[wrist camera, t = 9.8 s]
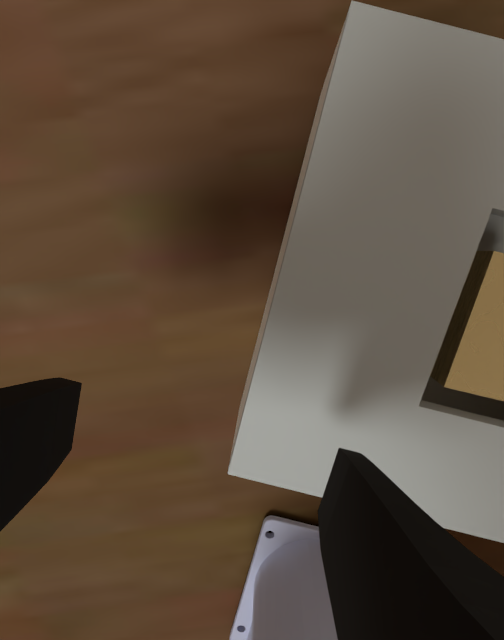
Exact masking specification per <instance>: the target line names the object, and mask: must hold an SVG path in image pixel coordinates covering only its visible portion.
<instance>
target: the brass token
mask: <svg viewBox="0 0 504 640" xmlns="http://www.w3.org/2000/svg"><path fill="white" fill-rule="evenodd" d="M430 377H432V378H433V379H434V380H435V381H437V382H438V383H439V384H441V385H442V386H443V387H446V388H450V389H454V390H458V391H463V392H467V393H471V394H475V395H479V396H484V397H488V398H492V399H496V400H500V401H504V253H501V252H497V251H476V254H475V256H474V259H473V262H472V264H471V267H470V270H469V273H468V275H467V278H466V281H465V283H464V286H463V289H462V291H461V294H460V297H459V299H458V302H457V305H456V307H455V310H454V313H453V315H452V318H451V321H450V323H449V326H448V329H447V331H446V334H445V337H444V340H443V342H442V345H441V348H440V350H439V353H438V356H437V358H436V361H435V364H434V366H433V369H432V372H431V374H430Z"/></svg>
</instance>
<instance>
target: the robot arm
mask: <svg viewBox="0 0 504 640" xmlns="http://www.w3.org/2000/svg"><path fill="white" fill-rule="evenodd" d="M81 385H82V383H80V382H76V381H72V380H68V379H64V378H51V379H44V380H39V381H33V382H29V383H24V384H19V385H14V386H10V387H5V388H0V531H1V530H2V529H3V528H4V527H5V526H6V525H7V524H8V523H9V522H10V521H11V520H12V519H13V518H14V517H15V516H16V515H17V514H18V513H19V511H20V510H21V509H22V508H23V507H24V506H25V505H26V504H27V503H28V502H29V501H30V500H31V499H32V498H33V497H34V496H35V495H36V494H37V493H38V491H39V490H40V489H41V488H42V487H43V486H44V485H45V484H46V483H47V482H48V480H49V479H50V478H51V477H52V475H53V474H54V473H55V471H56V470H57V469H58V467H59V466H60V465H61V463H62V462H63V460H64V459H65V458H66V456H67V455H68V453H69V452H70V451H71V449H72V442H73V436H74V429H75V423H76V417H77V410H78V404H79V397H80V391H81ZM318 522H319V527H317V526H313V525H309V524H305V523H301V522H297V521H293V520H289V519H285V518H281V517H277V516H272V515H270V516H267V517H266V518H265V519H264V521H263V524H262V528H261V531H260V534H259V538H258V541H257V545H256V548H255V551H254V555H253V558H252V561H251V565H250V568H249V572H248V575H247V578H246V582H245V585H244V588H243V592H242V595H241V599H240V602H239V605H238V609H237V612H236V616H235V619H234V622H233V626H232V629H231V632H230V640H504V577H503V576H502V575H500V574H499V573H498V572H496V571H495V570H494V569H493V568H491V567H490V566H489V565H487V564H486V563H485V562H483V561H482V560H481V559H480V558H478V557H477V556H476V555H474V554H473V553H472V552H471V551H470V550H468V549H467V548H466V547H465V546H463V545H462V544H461V543H460V542H459V541H457V540H456V539H455V538H454V537H453V536H452V535H451V534H449V533H448V532H447V531H446V530H445V529H444V528H442V527H441V526H440V525H439V524H438V523H437V522H436V521H434V520H433V519H432V518H431V517H430V516H429V515H428V514H427V513H426V512H424V511H423V510H422V509H421V508H420V507H419V506H418V505H417V504H416V503H415V502H414V501H413V500H412V499H410V498H409V497H408V496H407V495H406V494H405V493H404V492H403V491H402V490H401V489H400V488H399V487H398V486H397V485H396V484H395V483H394V482H393V481H392V480H391V479H389V478H388V477H387V476H386V475H385V474H384V473H383V472H382V471H381V470H380V469H379V468H378V467H377V466H376V465H375V464H374V463H372V462H371V461H370V460H369V459H368V458H367V457H365V456H364V455H363V454H361V453H359V452H355V451H351V450H347V449H343V448H339V449H338V452H337V455H336V458H335V461H334V464H333V467H332V470H331V473H330V476H329V479H328V482H327V485H326V488H325V491H324V494H323V497H322V500H321V503H320V506H319V509H318ZM267 531H272V533H267Z"/></svg>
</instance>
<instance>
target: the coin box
mask: <svg viewBox="0 0 504 640" xmlns="http://www.w3.org/2000/svg"><path fill="white" fill-rule="evenodd" d="M476 251H497V252H501V253H504V39H500V38H497V37H493V36H489V35H485V34H481V33H477V32H473V31H469V30H465V29H461V28H457V27H454V26H450V25H446V24H442V23H438V22H434V21H430V20H426V19H422V18H418V17H415V16H411V15H407V14H403V13H399V12H395V11H391V10H387V9H383V8H379V7H375V6H372V5H368V4H364V3H360V2H356V1H351V4H350V7H349V10H348V13H347V16H346V19H345V22H344V25H343V28H342V31H341V34H340V37H339V40H338V43H337V46H336V49H335V52H334V55H333V58H332V61H331V64H330V67H329V70H328V73H327V76H326V79H325V82H324V85H323V88H322V91H321V94H320V98H319V102H318V106H317V110H316V114H315V118H314V122H313V125H312V129H311V133H310V137H309V141H308V145H307V149H306V152H305V156H304V160H303V164H302V168H301V172H300V176H299V179H298V183H297V187H296V191H295V195H294V199H293V203H292V206H291V210H290V214H289V218H288V222H287V226H286V230H285V233H284V237H283V241H282V245H281V249H280V253H279V257H278V261H277V264H276V268H275V272H274V276H273V280H272V284H271V288H270V291H269V295H268V299H267V303H266V307H265V311H264V315H263V318H262V322H261V326H260V330H259V334H258V338H257V342H256V345H255V349H254V353H253V357H252V361H251V365H250V369H249V372H248V376H247V380H246V384H245V388H244V392H243V396H242V400H241V403H240V408H239V413H238V419H237V424H236V430H235V435H234V441H233V446H232V452H231V457H230V463H229V468H228V474H230V475H234V476H238V477H242V478H246V479H250V480H254V481H258V482H262V483H266V484H270V485H274V486H278V487H282V488H286V489H290V490H294V491H298V492H302V493H306V494H310V495H314V496H318V497H323V494H324V491H325V488H326V485H327V482H328V479H329V476H330V473H331V470H332V467H333V464H334V461H335V458H336V455H337V452H338V449H339V448H343V449H347V450H351V451H355V452H359V453H361V454H363V455H364V456H365V457H367V458H368V459H369V460H370V461H371V462H372V463H374V464H375V465H376V466H377V467H378V468H379V469H380V470H381V471H382V472H383V473H384V474H385V475H386V476H387V477H388V478H389V479H391V480H392V481H393V482H394V483H395V484H396V485H397V486H398V487H399V488H400V489H401V490H402V491H403V492H404V493H405V494H406V495H407V496H408V497H409V498H410V499H412V500H413V501H414V502H415V503H416V504H417V505H418V506H419V507H420V508H421V509H422V510H423V511H424V512H426V513H427V514H428V515H429V516H430V517H431V518H432V519H433V520H434V521H436V522H437V523H438V524H439V525H440V526H441V527H442V528H446V529H450V530H454V531H458V532H462V533H466V534H470V535H474V536H478V537H482V538H486V539H490V540H494V541H498V542H502V543H504V401H500V400H496V399H492V398H488V397H484V396H479V395H475V394H471V393H467V392H463V391H458V390H454V389H450V388H446V387H443V386H442V385H441V384H439V383H438V382H437V381H435V380H434V379H433V378H432V377H430V374H431V372H432V369H433V366H434V364H435V361H436V358H437V356H438V353H439V350H440V348H441V345H442V342H443V340H444V337H445V334H446V331H447V329H448V326H449V323H450V321H451V318H452V315H453V313H454V310H455V307H456V305H457V302H458V299H459V297H460V294H461V291H462V289H463V286H464V283H465V281H466V278H467V275H468V273H469V270H470V267H471V264H472V262H473V259H474V256H475V254H476Z"/></svg>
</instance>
